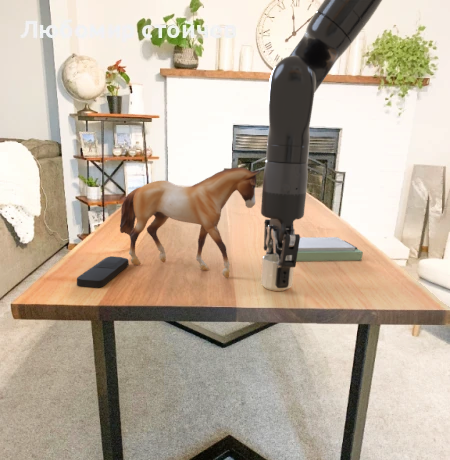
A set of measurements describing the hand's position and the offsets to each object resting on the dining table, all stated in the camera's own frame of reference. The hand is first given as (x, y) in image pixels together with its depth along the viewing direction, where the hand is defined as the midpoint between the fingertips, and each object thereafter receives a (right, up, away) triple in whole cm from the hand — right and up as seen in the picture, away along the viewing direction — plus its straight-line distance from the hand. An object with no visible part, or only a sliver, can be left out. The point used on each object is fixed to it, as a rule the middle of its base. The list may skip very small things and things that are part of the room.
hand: (276, 281), depth 82 cm
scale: (+13, +8, +23) cm, 28 cm away
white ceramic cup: (0, -1, 0) cm, 1 cm away
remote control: (-33, +1, +3) cm, 33 cm away
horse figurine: (-18, +4, +11) cm, 22 cm away
